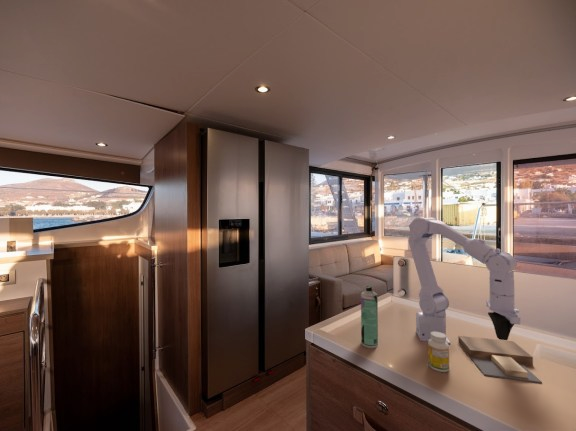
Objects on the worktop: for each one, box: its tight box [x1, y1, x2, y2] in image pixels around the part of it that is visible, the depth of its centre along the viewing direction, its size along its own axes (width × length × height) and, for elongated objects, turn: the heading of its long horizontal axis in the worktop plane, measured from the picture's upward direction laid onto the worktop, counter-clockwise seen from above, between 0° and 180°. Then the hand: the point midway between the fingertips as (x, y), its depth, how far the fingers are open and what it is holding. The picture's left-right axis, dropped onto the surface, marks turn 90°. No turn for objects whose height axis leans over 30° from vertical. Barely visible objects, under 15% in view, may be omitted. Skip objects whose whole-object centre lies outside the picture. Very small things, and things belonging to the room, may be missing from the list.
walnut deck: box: [457, 335, 534, 366], centre depth 82 cm, size 16×10×2 cm, turn 74°
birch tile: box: [491, 355, 528, 378], centre depth 74 cm, size 5×8×2 cm, turn 165°
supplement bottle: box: [427, 332, 450, 373], centre depth 75 cm, size 5×5×10 cm
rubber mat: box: [470, 357, 543, 384], centre depth 74 cm, size 13×9×1 cm
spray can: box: [360, 285, 379, 349], centre depth 89 cm, size 6×6×20 cm
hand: (502, 338), depth 77 cm, fingers closed
